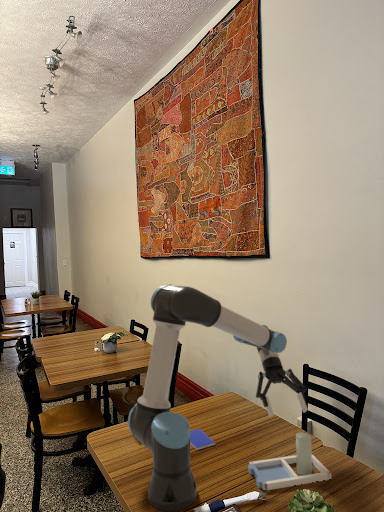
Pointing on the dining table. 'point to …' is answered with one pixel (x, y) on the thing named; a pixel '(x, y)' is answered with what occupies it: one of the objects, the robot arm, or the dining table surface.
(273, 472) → the bay rack
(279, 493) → the dining table surface
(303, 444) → the pale green cylinder
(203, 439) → the blue book
